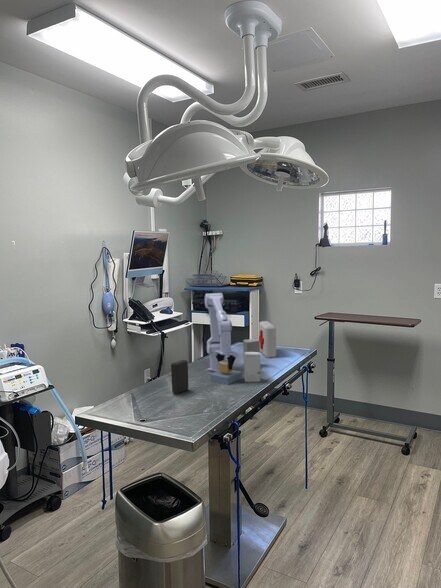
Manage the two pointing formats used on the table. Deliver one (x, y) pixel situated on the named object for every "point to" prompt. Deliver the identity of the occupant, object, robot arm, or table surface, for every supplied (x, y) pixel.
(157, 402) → the table surface
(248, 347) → the skincare box
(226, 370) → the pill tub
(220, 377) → the box
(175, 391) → the card reader
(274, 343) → the bevelled white case
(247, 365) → the skincare box
